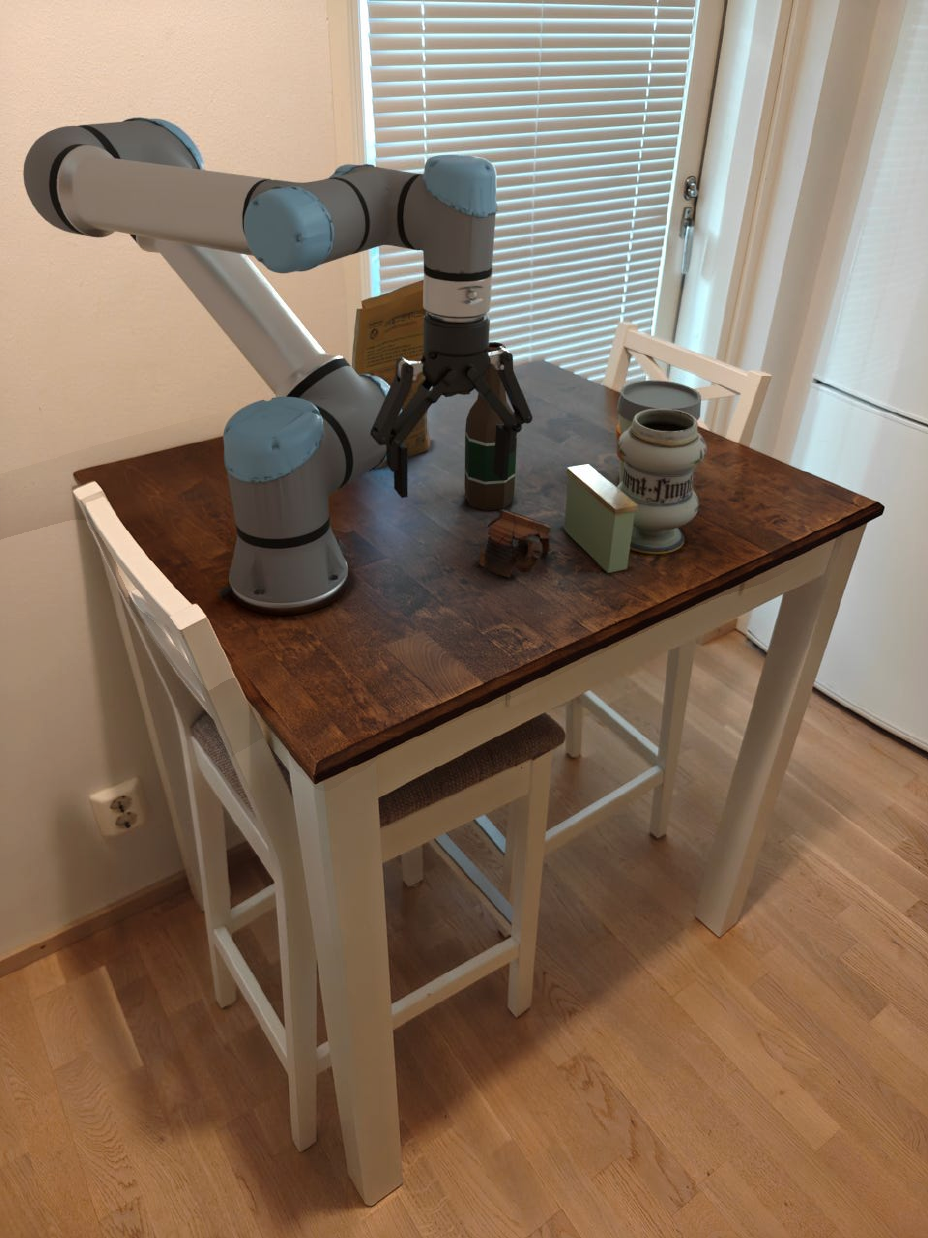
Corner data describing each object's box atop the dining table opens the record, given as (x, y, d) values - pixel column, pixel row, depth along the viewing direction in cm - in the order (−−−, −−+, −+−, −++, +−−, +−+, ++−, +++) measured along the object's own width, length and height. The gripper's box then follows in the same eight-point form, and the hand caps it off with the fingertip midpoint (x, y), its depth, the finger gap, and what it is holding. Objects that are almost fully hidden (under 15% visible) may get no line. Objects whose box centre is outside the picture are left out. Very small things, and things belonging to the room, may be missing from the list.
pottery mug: (463, 558, 123) (483, 501, 122) (519, 574, 128) (538, 520, 127) (502, 579, 113) (524, 518, 112) (561, 597, 118) (583, 538, 116)
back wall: (607, 574, 119) (615, 509, 114) (561, 529, 130) (567, 467, 124) (629, 569, 121) (638, 504, 115) (582, 525, 131) (588, 463, 125)
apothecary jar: (591, 526, 130) (604, 409, 120) (660, 511, 134) (678, 397, 124) (636, 565, 121) (654, 442, 111) (709, 548, 125) (732, 428, 115)
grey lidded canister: (702, 497, 139) (718, 404, 130) (628, 506, 136) (640, 413, 127) (665, 464, 149) (678, 376, 140) (595, 472, 146) (605, 383, 137)
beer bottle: (509, 514, 133) (517, 355, 120) (459, 508, 134) (460, 351, 121) (517, 491, 140) (525, 338, 126) (469, 486, 141) (471, 334, 127)
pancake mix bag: (453, 446, 153) (453, 278, 137) (367, 479, 142) (357, 300, 126) (426, 435, 157) (424, 270, 141) (341, 466, 146) (328, 291, 130)
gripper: (360, 333, 92) (366, 514, 104) (570, 312, 101) (553, 481, 113) (339, 312, 97) (347, 486, 110) (539, 294, 106) (526, 457, 118)
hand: (451, 484), depth 111 cm, fingers open, 13 cm apart
